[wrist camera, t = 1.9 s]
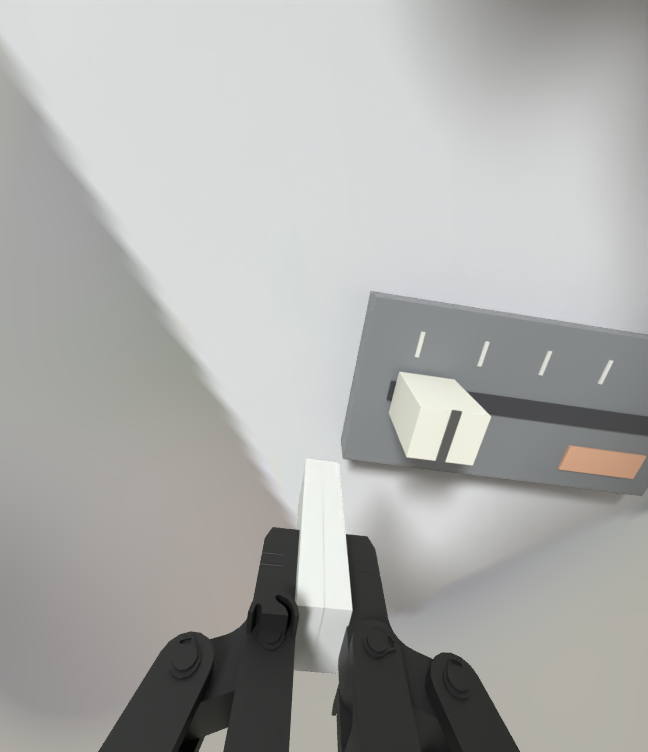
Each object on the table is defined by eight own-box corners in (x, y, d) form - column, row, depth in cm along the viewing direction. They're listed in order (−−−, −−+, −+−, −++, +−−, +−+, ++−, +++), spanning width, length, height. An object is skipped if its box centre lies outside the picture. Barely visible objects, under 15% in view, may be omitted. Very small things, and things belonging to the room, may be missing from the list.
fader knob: (399, 370, 26) (421, 406, 20) (454, 378, 26) (492, 415, 20) (388, 414, 27) (406, 459, 21) (441, 421, 27) (472, 467, 21)
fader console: (370, 291, 27) (376, 296, 24) (691, 341, 29) (734, 353, 26) (340, 439, 32) (342, 460, 29) (615, 475, 34) (643, 497, 31)
